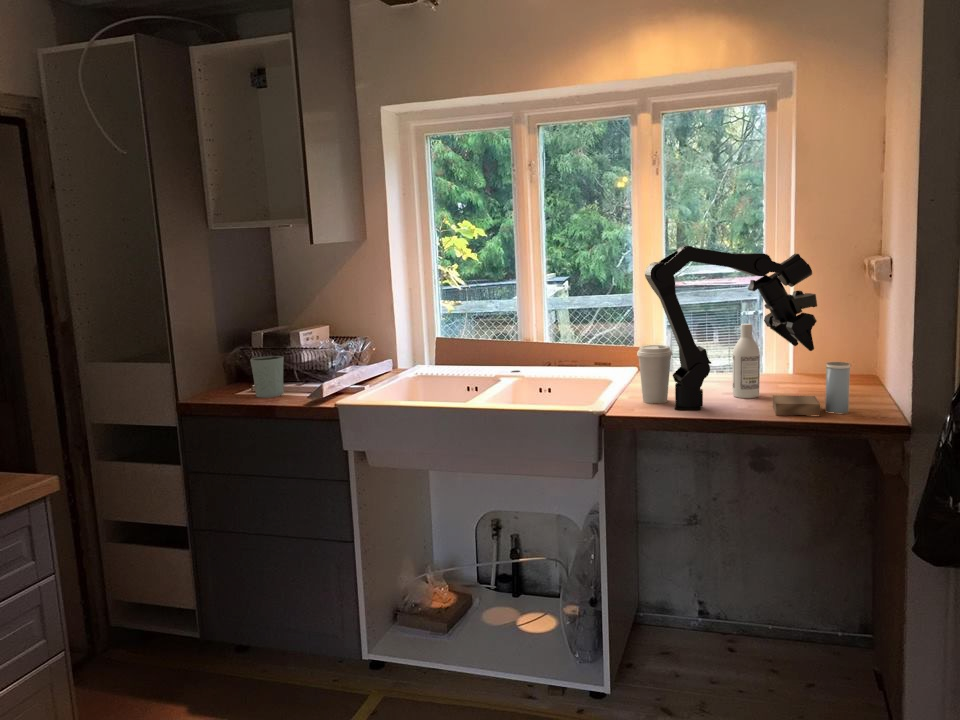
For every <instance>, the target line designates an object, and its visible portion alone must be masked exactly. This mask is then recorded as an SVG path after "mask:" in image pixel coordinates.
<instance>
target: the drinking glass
mask: <svg viewBox="0 0 960 720" xmlns="http://www.w3.org/2000/svg"><path fill="white" fill-rule="evenodd" d="M284 360H285V359H284V356H283V355H282V356H281V355H267V356H266V355H264V356H257V357H252V358H250V360H249V361H250V366H251V371H252V375H253V376H252V377H253V384H254V390H255V396H256V398H260V399H261V398H262V399H265V398H268V399H269V398H274V397H275V398H276V397H281V396H283V395H284ZM282 394H283V395H282ZM280 395H281V396H280Z"/></svg>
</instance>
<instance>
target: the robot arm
mask: <svg viewBox="0 0 960 720" xmlns="http://www.w3.org/2000/svg"><path fill="white" fill-rule="evenodd" d="M690 262H691V263H697V264H698V263H699V264H704V265H712V266H718V267H725V268H730V269H733V270H735V271H738V272H741V273H743V274H746V275H749V276H754V277H759V278H758V279H756V280H755V279H750V282H749V286H748V287H747V290H748V291H752V292H755V291H757V290H758V292H759V293H760V296H761V297H762V299H763V300H764V303H765V304H764V305H763V306H764V308H765V309H767V310H769V311H770V312H769V313H768V314H766V315H765V316H764V318H763V322H764V324H765V325H766V327H767V328H769V329H770V330H772V331H773V332H774V333H775V334H778V335H779V336H780V337H781V338H783V339H785V341H787V342H788V343H790V344H791V345H792V346H794V347H796V346H798V345H799V343H800V344H801V345H802V346H803V347H804V348H806V349H807V350H808V351H809V352H813V351H815V350H814V349H815V346H814V341H813V335H812V334H813V333H812V329H813V328H814V326H815V325H816V323H817V322H818V321H817V319H816V317H815V315H814V314H811V313H806V312H803V310H804V309H808V308H815V307H816V308H817V307H818V301H817V295H816V293H811V292H810V293H808V292H803V290H799V289H798V290H794V291H793V292H792V294H789V293H788V292H787V290H786V289H785V287H787V286H788V287H791V288H793V287H795V286H796V285H798V284H800V283H801V282H803V281H805V280H806V279H807V278H809V277H811V276H813V271H812V270H813V269H812V267H811V265H810V264H809V263H807V261H806V260H805V259H804V258H803V257H802V256H801V255H800V253H794V254H792V255H791V256H790V257H788V258H787V259H786V260H784V261H782V262H776V261H773V259H772V258H771V257H770V255H769V254H767V253H762V252H761V253H760V252H750V253H749V252H746V253H745V252H744V253H743V252H741V253H733V252H726V251H719V250H713V249H705V248H700V247H694V246H691V245H681V246H679V248H678V249H676V250H675V251H674V252H672V253H671V254H669V255H667V256H665V257H664V258H662V259H660V260H659V261H657V262H652V263H649V264H648V265H647V267H646V269H645V271H644V277H645V279H646V281H647V283H648V285H649V286H650V288H651V289H652V291H653V293H655V295H656V296H657V297H658V299H659V300H660V303H661V307H662V308H663V310H664V313H665V316H666V319H667V321H668V323H669V326H670V328H671V331H672V333H673V336H674V339H675V341H676V344H677V347H678V356H679V357H678V358H679V364H680V366H679V367H678V368H677V370H676V371H675V372H674V373H672V378H673V380H674V382H675V386H674V387H675V388H674V390H675V391H674V395H675V396H674V399H675V404H674V410H676V411H677V410H680V411H681V410H683V411H686V410H687V411H690V410H691V411H700V410H701V409H702V407H703V406H704V404H703V403H704V402H703V401H704V389H703V388H701V387H703V383H704V380H705V379H706V378H707V377H708V376H709V374H710V372H711V364H712V361H710V359H709V357H708V352H707V349H706V348H704V347H702V346H700V345H696V344H697V343H696V342H695V340H694V337H693V335H692V333H691V330H690V327H689V324H688V322H687V320H686V316H685V314H684V312H683V309H682V306H681V304H680V301H679V299H678V296H677V292H676V289H677V288H676V281H675V280H676V279H675V275H676V274H677V273H678V272H680V271H681V270H682V269H683V268H684V267H686V265H687V264H689V263H690ZM769 273H772V274H770V275H768V274H769ZM784 286H785V287H784Z"/></svg>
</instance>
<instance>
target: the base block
mask: <svg viewBox="0 0 960 720" xmlns="http://www.w3.org/2000/svg"><path fill="white" fill-rule="evenodd" d="M772 409H773V411H774V414H776V415H807V416H806V417H812V416H811V415H820V416H821V403H820V402H819V400H818V398H817V397H816V396H815V395H787V394H786V395H777V394H776V395H775V394H774V395H772ZM776 415H775V416H776Z"/></svg>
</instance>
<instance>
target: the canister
mask: <svg viewBox="0 0 960 720" xmlns="http://www.w3.org/2000/svg"><path fill="white" fill-rule="evenodd" d="M825 368H826V370H825V371H826V372H825V410H826V411H828V412H834V413H847V414H848V412H850V411H849V410H850V409H849V408H850V407H849V406H850V399H849V398H850V378H851V377H850V374H851V373H850V372H851V363H849V362H842V361H832V362H829V361H828V362H826V363H825ZM825 410H824V411H825Z"/></svg>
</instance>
